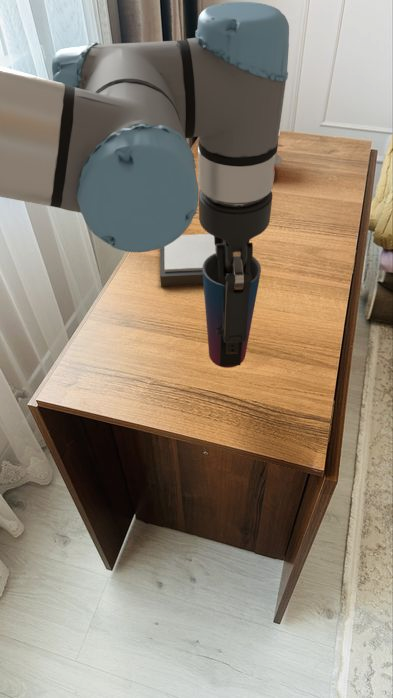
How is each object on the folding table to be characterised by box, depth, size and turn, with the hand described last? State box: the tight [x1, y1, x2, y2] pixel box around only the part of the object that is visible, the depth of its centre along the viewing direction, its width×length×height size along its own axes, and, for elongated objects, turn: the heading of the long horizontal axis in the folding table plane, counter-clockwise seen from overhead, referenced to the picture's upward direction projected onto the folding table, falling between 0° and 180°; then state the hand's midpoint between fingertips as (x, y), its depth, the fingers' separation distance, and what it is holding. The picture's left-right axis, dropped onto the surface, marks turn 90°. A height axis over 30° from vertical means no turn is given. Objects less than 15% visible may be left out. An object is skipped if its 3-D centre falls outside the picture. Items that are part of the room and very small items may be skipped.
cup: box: [202, 253, 262, 369], centre depth 63 cm, size 7×7×15 cm
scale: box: [159, 233, 216, 288], centre depth 94 cm, size 12×12×3 cm
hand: (227, 344), depth 67 cm, fingers closed on cup, 6 cm apart
